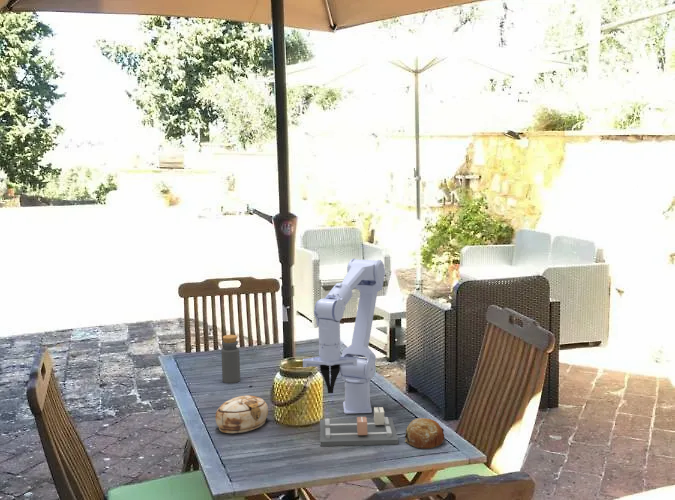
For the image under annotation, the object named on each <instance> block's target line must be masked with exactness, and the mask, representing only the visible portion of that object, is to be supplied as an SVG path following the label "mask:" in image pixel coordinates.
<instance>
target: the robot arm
mask: <svg viewBox="0 0 675 500" xmlns="http://www.w3.org/2000/svg"><path fill="white" fill-rule="evenodd" d="M346 270H347V271H346V272H347V273H346V275H345V276H344V278H343V280H342V281H341V282H336V283H335V284H334V286H333V287H332V288H331V289H330V290H329V292H327V294H326V295H325V297H324V298H320V299H319V300H316V303H315V304H314V309H313V315H314V318H315V322H316V326H317V327H318V356H317V357H316V356H315V357H309V358H302V368H307V367H308V368H309V367H319V369H320V373H321V375H322V377H323V379H324V382H325V384H326V388H327V389H326V390H327V394H334V387H335V384H336V380H337V378H338V376H340V377H341V378H342V379H341V380H342V381H344V401H343V402H342V405H343V412H344V414H346V415H348V414H372V413H373V408H372V404H371V401H370V398H371V397H370V395H371V394H370V393H371V392H370V391H371V390H370V381H371V380H372V379H373V378H374V377H375V375H376V369H377V367H376V366H377V365H376V363H377V361H376V360H377V357H376V353H374V352H373V351H372V350H371V348H369V344H370V338H371V333H372V328H373V320H374V315H375V308H376V302H377V296H378V295H377V294H378V292H380V291H382V290H383V286H384V280H385V274H386V269H385V265H384V263H383V261H382V260H381V259H378V260H377V259H376V260H375V259H361V258H360V259H358V258H350V260H349V261H348V264H347V269H346ZM354 289H356V290H358V291H359V300H358V305H357V309H356V310H357V311H356V316H355V323H354V328H353V333H352V339H351V345H349V346H348V347H345V348H344V349H343V350H342V352H341V320H342V319H343V316H344V312H345V310H346V305H347V304H348V303H349V301H350V300H351V299H352V297H353V290H354Z"/></svg>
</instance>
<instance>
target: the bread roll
mask: <svg viewBox="0 0 675 500" xmlns="http://www.w3.org/2000/svg"><path fill="white" fill-rule="evenodd" d="M444 430H445V429H444V428H442V427H441V425H440V424H439V423H438V422H437V421H435V420H434V419H431V418H426V417H425V418H424V417H422V418H421V417H418V418H415V419H413V420H411V421H410V422H409V424H408V425H407V427H406V430H405V434H404V435H405V440H404V442H405V443H406V444H408V445H409V446H412V447H413V448H417V449H433V448H436V447H438V446H440V445H442V444H443V442H444V440H445V433H444Z"/></svg>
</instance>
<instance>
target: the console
mask: <svg viewBox="0 0 675 500" xmlns="http://www.w3.org/2000/svg"><path fill="white" fill-rule="evenodd" d="M366 418H367V417H366ZM319 429H320V432H319V436H320V439H319V441H320V447H341V446H344V447H345V446H348V445H349V446H373V445H374V446H375V445H376V446H377V445H383V446H384V445H398V444H399V438H398V433H397V430H396V427H395V423H394V421H393V417H388V416H384V425H375V422H374V417H373V418H370V417H369V418H367V435H358V433H357V418H339V419H338V418H337V419H336V418H334V419H333V418H332V419H330V418H324V419H319Z"/></svg>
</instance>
